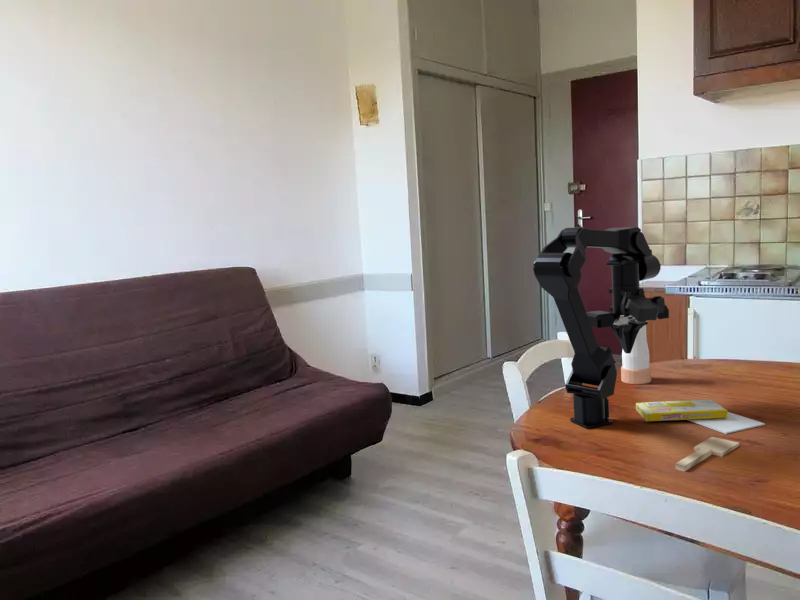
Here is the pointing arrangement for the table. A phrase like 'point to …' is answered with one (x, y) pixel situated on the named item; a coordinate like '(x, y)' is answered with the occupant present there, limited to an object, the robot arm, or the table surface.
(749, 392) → the table surface
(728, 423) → the felt mat
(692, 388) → the table surface
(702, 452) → the wooden turner
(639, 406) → the candy box
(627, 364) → the pepper shaker
